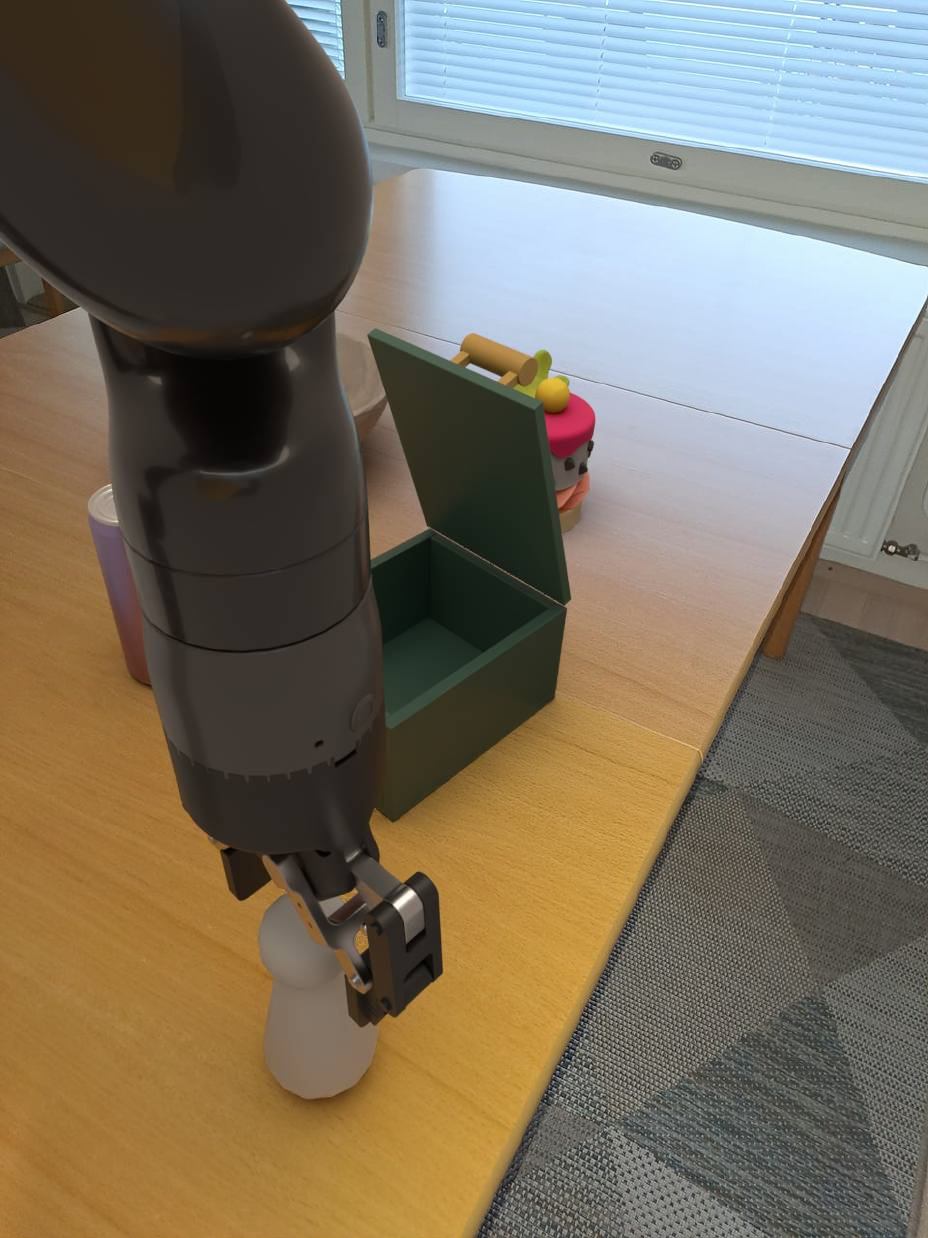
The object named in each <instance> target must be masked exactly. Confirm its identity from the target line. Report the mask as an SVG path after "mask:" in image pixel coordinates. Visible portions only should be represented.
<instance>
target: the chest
mask: <svg viewBox="0 0 928 1238" xmlns="http://www.w3.org/2000/svg"><path fill="white" fill-rule="evenodd" d="M371 573H372V582H373V589H374V593H375V597H376V601H377V606H378V611H379V617H380V622H381V630H382V645H383V670H384V697H385V719H386V745H387V771H386V777H385V781H384V784H383V787H382V790H381V793H380V795H379V798H378V800H377V803H376V805H375V807H374V808H376V809H377V810H378V811H379V812H380V813H381V814H382V815H384V816H385V817H386V818H387V819H388V820H389V821H390V822H392V823H395V822H396V821H397V820H398V819H400V818H401V817H402V816H404V815H405V814H406V813H407V812H409V811H410V810H411V809H413V808H414V807H416V806H417V805H418V804H420V802H422V801H423V800H424V799H426V798H427V797H428V796H430V795H431V794H432V793H433V792H435V791H436V790H437V789H439V788H440V787H442V786H443V785H444V784H445V783H447V782H448V781H449V780H451V778H453V777H454V776H456V775H457V774H458V773H460V772H461V771H462V770H463V769H464V768H466V767H468V766H469V765H470V764H471V763H473V762H474V761H475V760H476V759H478V758H479V757H480V756H482V755H483V754H485V753H486V752H487V751H488V750H489V749H491V748H492V747H493V746H495V745H496V744H497V743H499V742H500V741H501V740H503V739H504V738H505V737H507V736H508V735H510V733H512V732H513V731H514V730H516V729H517V728H518V727H519V726H521V725H522V724H524V722H526V721H527V720H529V719H530V718H531V717H532V716H534V715H535V714H536V713H538V712H539V711H540V710H542V709H543V708H544V707H546V706H547V705H548V704H550V703H551V702H552V701H553V700H554V699H555V698H556V691H557V686H558V678H559V672H560V665H561V657H562V650H563V641H564V636H565V635H564V634H565V629H566V620H567V612H568V607H567V606H566V605H565V606H564V605H562V604H560V603H559V602H557V601H555V600H553V599H552V598H550V597H548V596H547V595H545V594H543V593H541V592H540V591H538V590H536V589H534V588H533V587H531V586H529V585H528V584H526V583H524V582H522V581H521V580H519V579H517V578H516V577H514V576H512V575H510V574H509V573H507V572H505V571H504V570H502V569H500V568H498V567H497V566H495V565H493V564H492V563H490V562H488V561H486V560H485V559H483V558H481V557H480V556H478V555H476V554H474V553H473V552H471V551H469V550H468V549H466V548H464V547H462V546H461V545H459V544H457V543H456V542H454V541H452V540H450V539H449V538H447V537H445V536H444V535H442V534H440V533H438V532H437V531H435V530H433V529H432V528H430V527H428V529H426V530H424V531H422V532H420V533H418V534H416V535H414V536H413V537H411V538H409V539H407V540H405V541H403V542H401V543H400V544H397V545H396V546H393V547H392V548H390V549H388V550H386V551H385V552H383V553H381V554H379V555H377V556H375V557H373V558H371Z"/></svg>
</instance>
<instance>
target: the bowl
mask: <svg viewBox="0 0 928 1238" xmlns="http://www.w3.org/2000/svg"><path fill="white" fill-rule="evenodd" d="M336 338H337V352H338V361H339V368H340V373H341V378H342V382H343V386H344V390H345V393H346V396H347V398H348V401H349V404H350V407H351V410H352V413H353V416H354V419H355V423H356V426H357V429H358V433H359V438H360V442H361V444H362V443H363V442H364V440H365V439H366V438H367V437H368V435H369V434H370V433H371V432H372V431H373V429H374V428H375V427H376V425H377V424H378V422H379V420H380V419H381V417H382V416H383V413H384V411H385V410H386V408H387V404H388V400H387V397H386V394H385V390H384V387H383V384H382V381H381V378H380V374H379V371H378V368H377V365H376V362H375V358H374V355H373V352H372V349H371V346H370V343H369V341H366V340H363V339H360V338H358V337H357V336H354V335H351V334H348V333H345V332H342V331H336Z"/></svg>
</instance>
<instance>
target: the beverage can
mask: <svg viewBox="0 0 928 1238" xmlns="http://www.w3.org/2000/svg"><path fill="white" fill-rule="evenodd" d="M87 512H88V517H87V522H88V527H89V530H90V533H91V538H92V541H93V544H94V549H95V552H96V556H97V559H98V563H99V567H100V571H101V574H102V578H103V579H102V580H103V582H104V587H105V589H106V594H107V597H108V600H109V605H110V609H111V612H112V616H113V620H114V623H115V627H116V631H117V635H118V638H119V643H120V646H121V649H122V653H123V657H124V661H125V664H126V668H127V671H128V673H130V674H131V675H132V676H133V677H134V678H135V679H137V680H138V681H140V683H141V682H142V683H144V684H146V685H149V686H151V682H150V678H149V674H148V669H147V665H146V659H145V654H144V645H143V631H142V618H141V610H140V605H139V600H138V596H137V592H136V588H135V584H134V580H133V576H132V573H131V569H130V565H129V561H128V557H127V553H126V549H125V545H124V541H123V538H122V533H121V529H120V527H119V524H118V519H117V514H116V509H115V504H114V500H113V493H112V486H111V483H109V484H107V485H105V486H102V487H101V488H99V489H97V490H96V491H95V492H93V494H92V495H91V496H90V497H89V500H88V502H87Z"/></svg>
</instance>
